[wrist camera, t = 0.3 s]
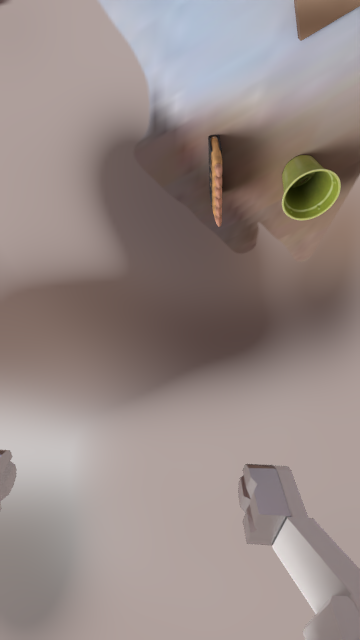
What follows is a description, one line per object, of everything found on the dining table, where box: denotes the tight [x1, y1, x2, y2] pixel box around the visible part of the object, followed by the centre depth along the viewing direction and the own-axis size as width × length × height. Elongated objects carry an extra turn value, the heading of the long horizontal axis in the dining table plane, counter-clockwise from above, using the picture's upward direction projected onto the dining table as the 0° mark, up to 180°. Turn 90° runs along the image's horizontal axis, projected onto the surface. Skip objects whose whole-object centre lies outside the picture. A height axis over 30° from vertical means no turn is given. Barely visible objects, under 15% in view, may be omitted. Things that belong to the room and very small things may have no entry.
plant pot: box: [282, 155, 341, 220], centre depth 51 cm, size 9×9×9 cm
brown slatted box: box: [208, 135, 222, 227], centre depth 49 cm, size 11×2×12 cm, turn 6°
